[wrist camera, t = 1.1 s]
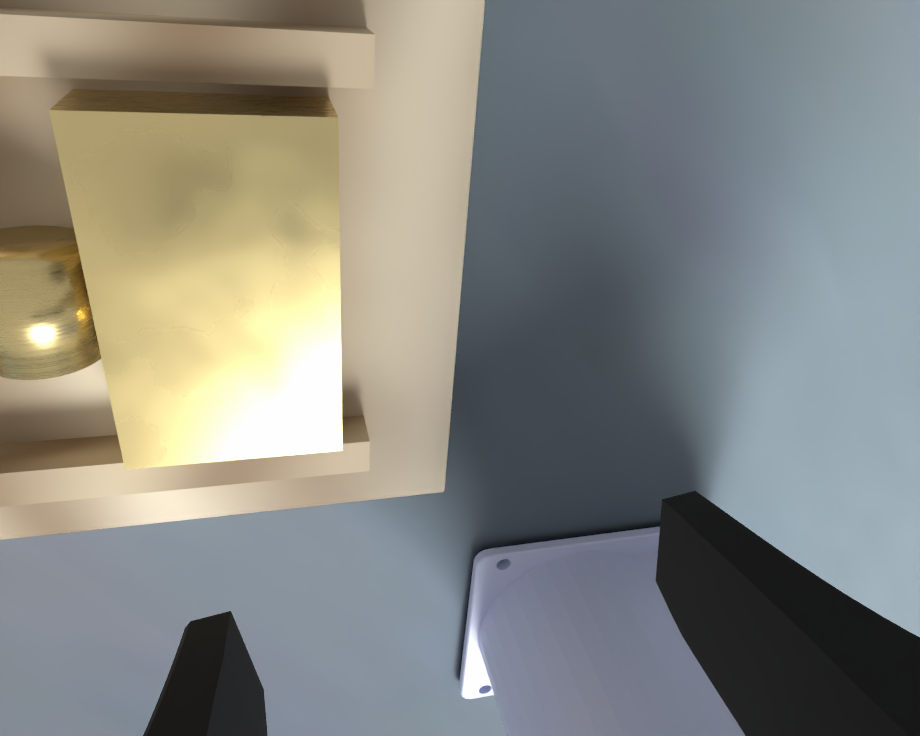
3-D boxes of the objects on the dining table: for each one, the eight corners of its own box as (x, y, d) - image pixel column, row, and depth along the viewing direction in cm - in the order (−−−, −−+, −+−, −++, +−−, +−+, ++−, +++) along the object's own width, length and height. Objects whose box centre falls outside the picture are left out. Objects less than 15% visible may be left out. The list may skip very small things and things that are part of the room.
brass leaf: (328, 96, 15) (340, 122, 13) (334, 405, 19) (343, 460, 17) (-67, 83, 13) (-123, 110, 11) (31, 427, 18) (2, 492, 16)
